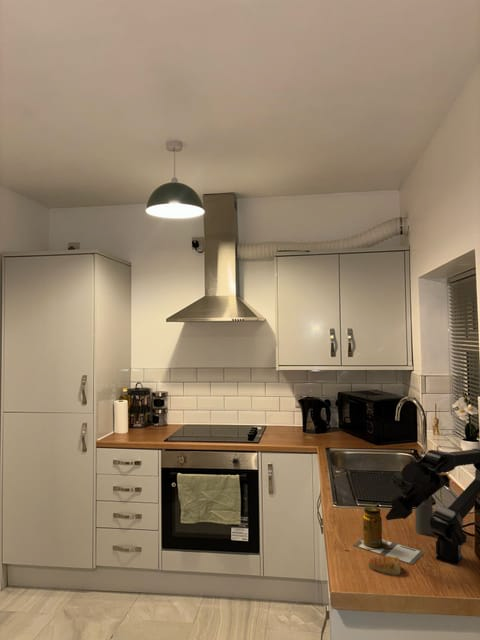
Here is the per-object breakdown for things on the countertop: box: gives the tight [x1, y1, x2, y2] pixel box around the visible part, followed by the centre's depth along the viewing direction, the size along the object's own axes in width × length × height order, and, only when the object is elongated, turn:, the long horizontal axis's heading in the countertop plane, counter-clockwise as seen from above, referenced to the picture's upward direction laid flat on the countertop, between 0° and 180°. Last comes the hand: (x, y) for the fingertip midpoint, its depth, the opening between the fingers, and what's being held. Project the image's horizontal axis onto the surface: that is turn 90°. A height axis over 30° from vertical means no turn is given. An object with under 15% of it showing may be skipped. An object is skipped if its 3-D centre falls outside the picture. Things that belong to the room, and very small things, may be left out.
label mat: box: [352, 537, 425, 566], centre depth 152 cm, size 20×11×1 cm, turn 49°
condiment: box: [359, 505, 392, 549], centre depth 155 cm, size 7×8×12 cm
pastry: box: [368, 556, 401, 576], centre depth 140 cm, size 9×7×4 cm
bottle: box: [414, 496, 434, 536], centre depth 165 cm, size 6×6×15 cm
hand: (391, 514), depth 151 cm, fingers open, 9 cm apart
